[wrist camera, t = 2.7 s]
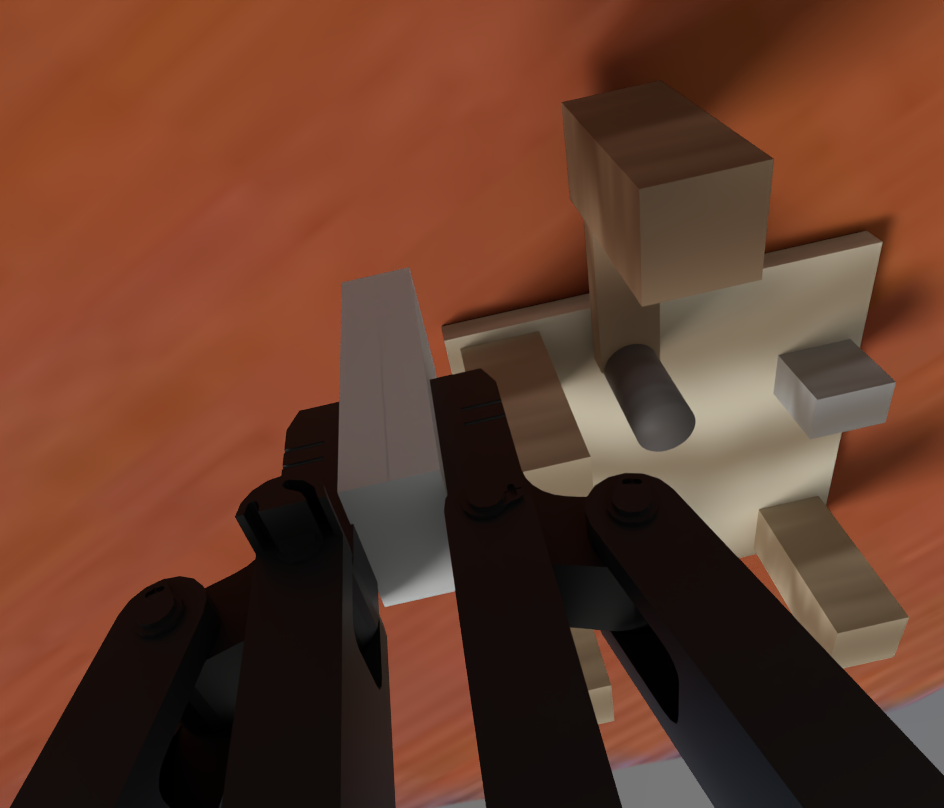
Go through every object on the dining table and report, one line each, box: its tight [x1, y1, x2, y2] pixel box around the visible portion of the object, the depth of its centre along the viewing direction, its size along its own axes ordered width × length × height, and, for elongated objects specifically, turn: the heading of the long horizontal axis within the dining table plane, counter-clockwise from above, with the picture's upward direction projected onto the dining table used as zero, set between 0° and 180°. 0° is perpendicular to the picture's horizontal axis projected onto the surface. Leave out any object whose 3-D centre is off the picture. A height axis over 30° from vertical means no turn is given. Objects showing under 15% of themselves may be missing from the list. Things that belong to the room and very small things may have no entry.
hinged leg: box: [562, 80, 774, 452], centre depth 21 cm, size 10×3×7 cm, turn 10°
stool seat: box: [442, 231, 909, 724], centre depth 29 cm, size 17×16×8 cm
